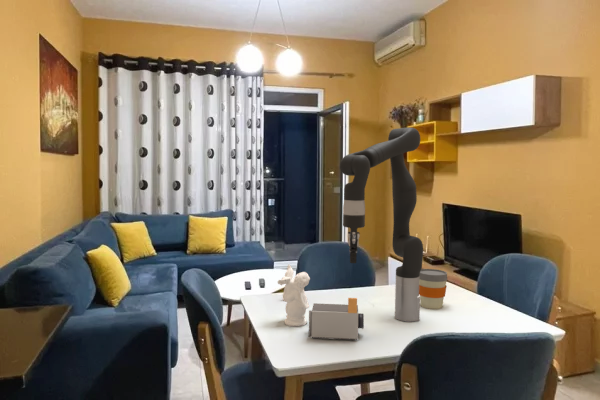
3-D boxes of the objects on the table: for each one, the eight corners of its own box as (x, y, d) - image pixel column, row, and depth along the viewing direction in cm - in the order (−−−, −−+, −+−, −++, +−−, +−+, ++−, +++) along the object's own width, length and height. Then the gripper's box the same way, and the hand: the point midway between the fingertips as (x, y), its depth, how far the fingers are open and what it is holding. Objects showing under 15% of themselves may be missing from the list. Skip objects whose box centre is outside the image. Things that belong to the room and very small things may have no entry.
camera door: (357, 337, 157) (358, 298, 156) (357, 338, 156) (358, 298, 155) (308, 335, 159) (309, 296, 158) (308, 336, 158) (309, 297, 157)
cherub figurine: (312, 325, 173) (314, 268, 171) (284, 331, 166) (285, 272, 164) (295, 316, 183) (296, 262, 181) (268, 321, 176) (269, 265, 174)
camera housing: (362, 332, 166) (363, 305, 165) (363, 340, 158) (364, 312, 157) (313, 330, 168) (313, 303, 167) (311, 338, 160) (312, 310, 159)
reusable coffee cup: (414, 308, 195) (415, 273, 194) (418, 300, 206) (419, 267, 205) (445, 311, 190) (446, 276, 189) (447, 303, 202) (448, 270, 201)
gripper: (365, 215, 150) (364, 267, 151) (364, 211, 163) (363, 259, 164) (342, 214, 151) (342, 266, 152) (343, 211, 164) (342, 258, 165)
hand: (353, 262), depth 158 cm, fingers closed
